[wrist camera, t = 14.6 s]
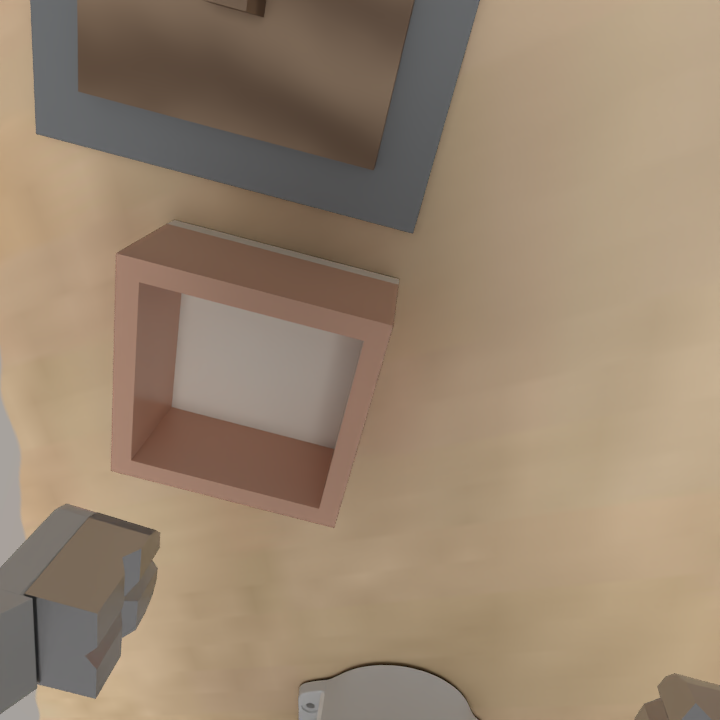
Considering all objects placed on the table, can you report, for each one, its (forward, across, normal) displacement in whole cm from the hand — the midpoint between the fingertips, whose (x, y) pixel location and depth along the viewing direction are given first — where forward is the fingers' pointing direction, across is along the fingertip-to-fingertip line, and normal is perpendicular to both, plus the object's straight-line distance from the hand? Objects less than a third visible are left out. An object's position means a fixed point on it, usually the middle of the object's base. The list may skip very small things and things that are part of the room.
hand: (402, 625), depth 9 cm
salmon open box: (+26, +8, +10) cm, 29 cm away
